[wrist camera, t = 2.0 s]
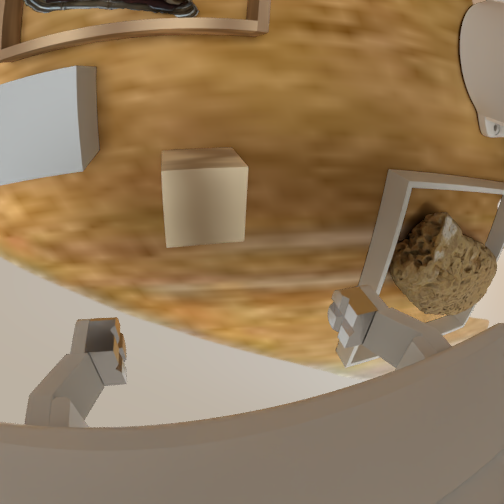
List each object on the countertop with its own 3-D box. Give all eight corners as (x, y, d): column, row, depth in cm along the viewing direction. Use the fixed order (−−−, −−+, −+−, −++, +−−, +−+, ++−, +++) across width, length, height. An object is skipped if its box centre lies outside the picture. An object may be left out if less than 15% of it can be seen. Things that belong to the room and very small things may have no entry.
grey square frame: (508, 183, 32) (523, 192, 30) (453, 315, 45) (463, 326, 42) (388, 169, 26) (408, 181, 24) (335, 350, 39) (345, 367, 37)
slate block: (96, 66, 16) (76, 65, 12) (99, 149, 19) (82, 171, 15) (19, 83, 15) (-15, 89, 11) (27, 161, 18) (-2, 185, 14)
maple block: (231, 147, 22) (248, 167, 18) (229, 209, 25) (244, 241, 21) (161, 150, 21) (161, 171, 17) (165, 213, 23) (166, 247, 19)
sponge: (362, 263, 34) (437, 331, 40) (404, 290, 26) (470, 356, 33) (423, 172, 32) (482, 260, 39) (471, 180, 25) (519, 277, 31)
